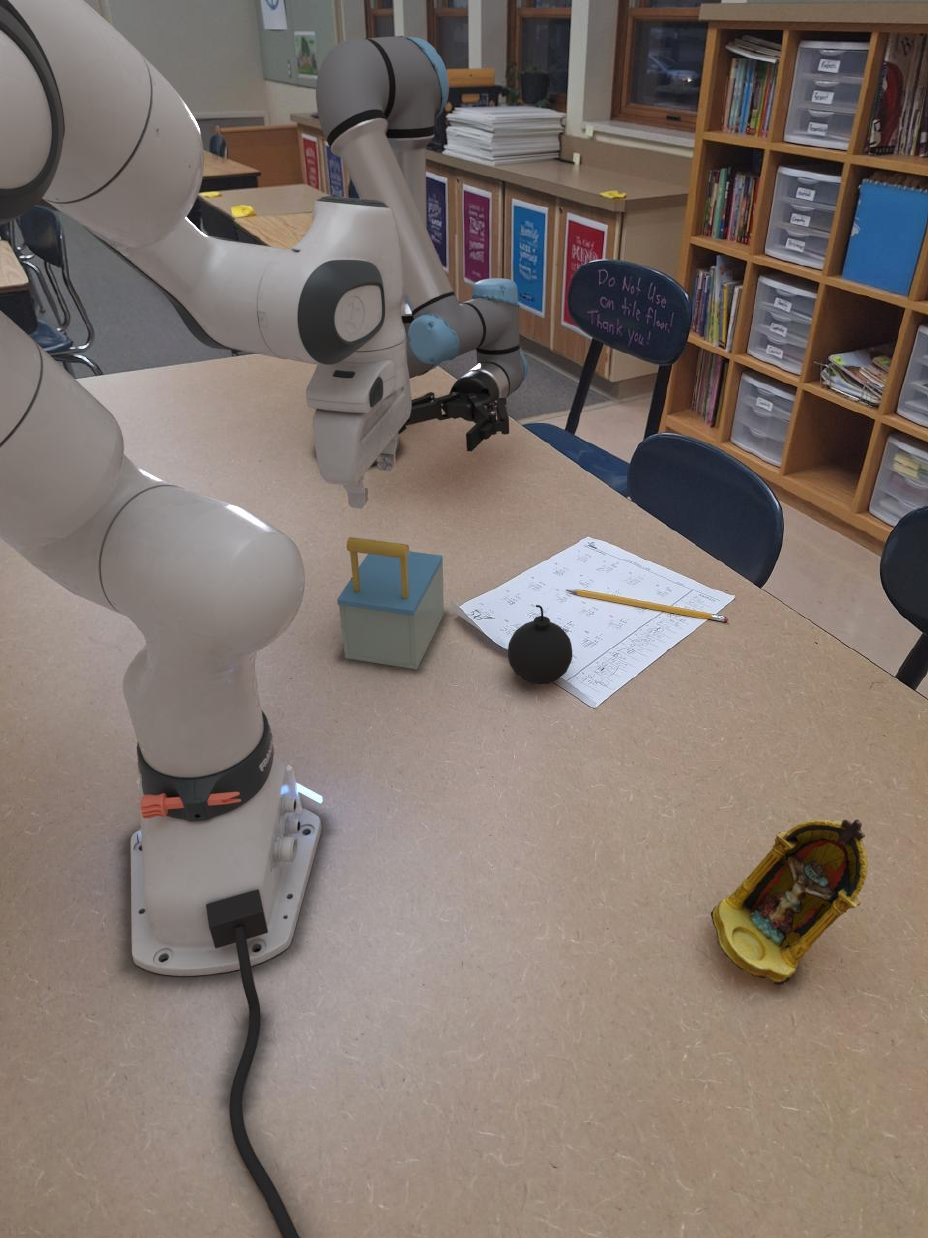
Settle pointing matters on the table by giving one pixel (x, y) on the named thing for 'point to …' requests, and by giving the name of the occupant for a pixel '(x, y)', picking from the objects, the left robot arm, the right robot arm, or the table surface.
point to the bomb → (540, 651)
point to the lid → (388, 576)
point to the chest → (393, 630)
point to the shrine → (792, 897)
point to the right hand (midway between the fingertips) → (425, 438)
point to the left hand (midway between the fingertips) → (373, 486)
